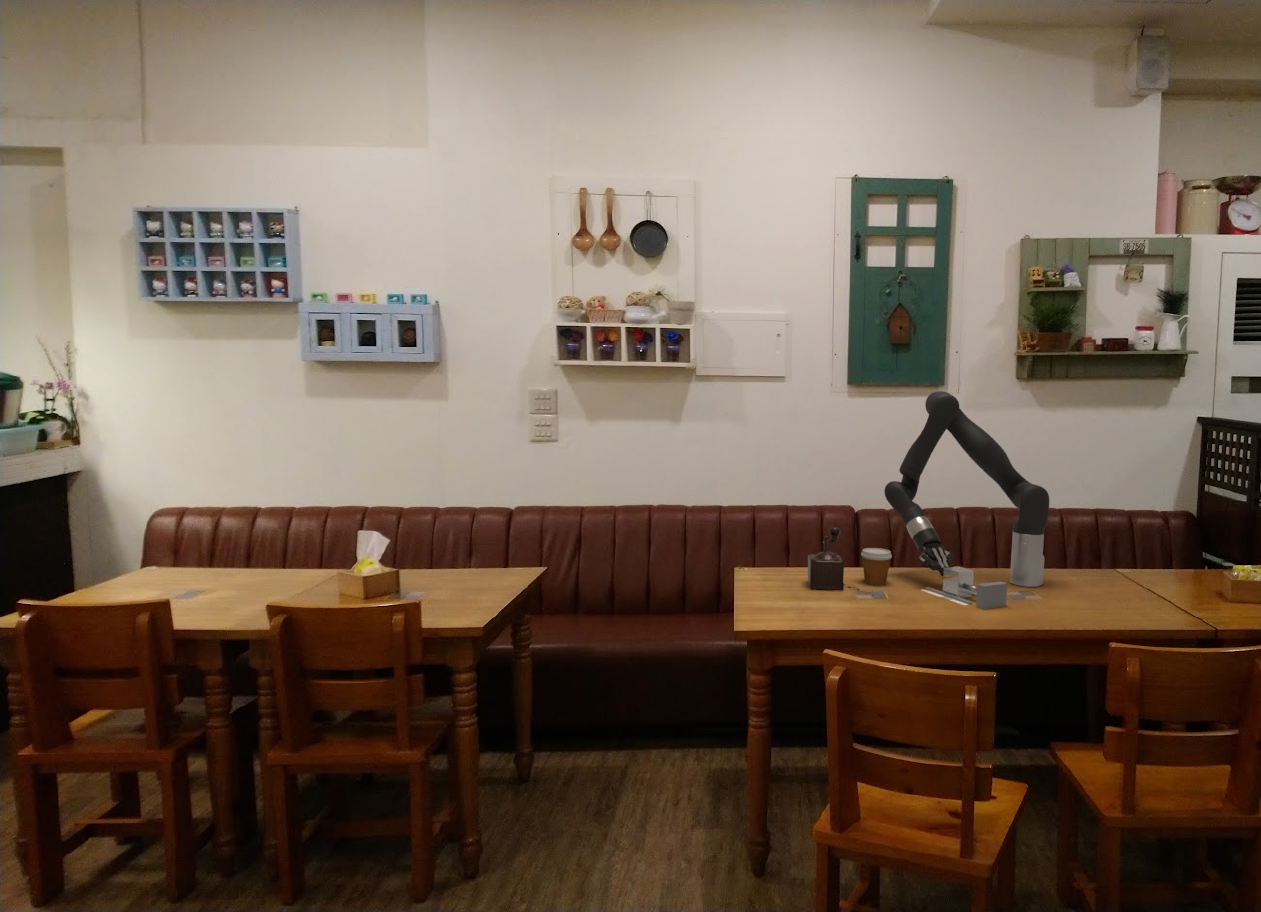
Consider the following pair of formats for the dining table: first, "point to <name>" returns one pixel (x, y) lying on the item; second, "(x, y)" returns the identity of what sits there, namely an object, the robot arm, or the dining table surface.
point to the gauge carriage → (958, 582)
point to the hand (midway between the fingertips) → (949, 580)
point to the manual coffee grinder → (826, 567)
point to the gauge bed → (980, 595)
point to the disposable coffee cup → (876, 565)
